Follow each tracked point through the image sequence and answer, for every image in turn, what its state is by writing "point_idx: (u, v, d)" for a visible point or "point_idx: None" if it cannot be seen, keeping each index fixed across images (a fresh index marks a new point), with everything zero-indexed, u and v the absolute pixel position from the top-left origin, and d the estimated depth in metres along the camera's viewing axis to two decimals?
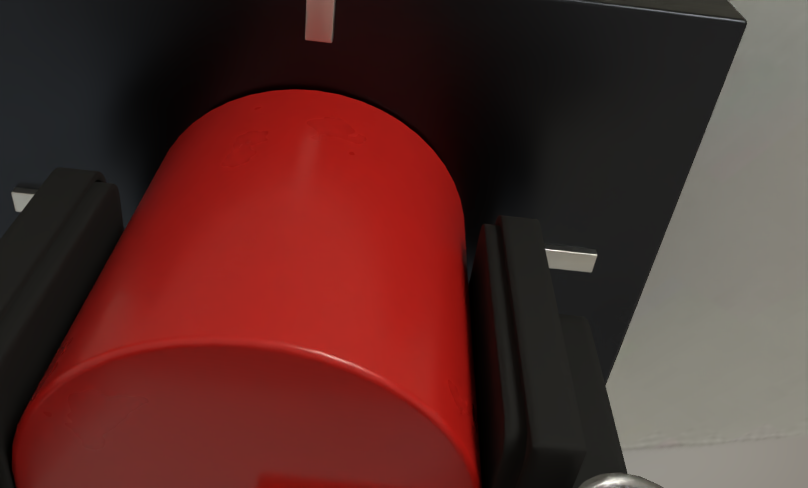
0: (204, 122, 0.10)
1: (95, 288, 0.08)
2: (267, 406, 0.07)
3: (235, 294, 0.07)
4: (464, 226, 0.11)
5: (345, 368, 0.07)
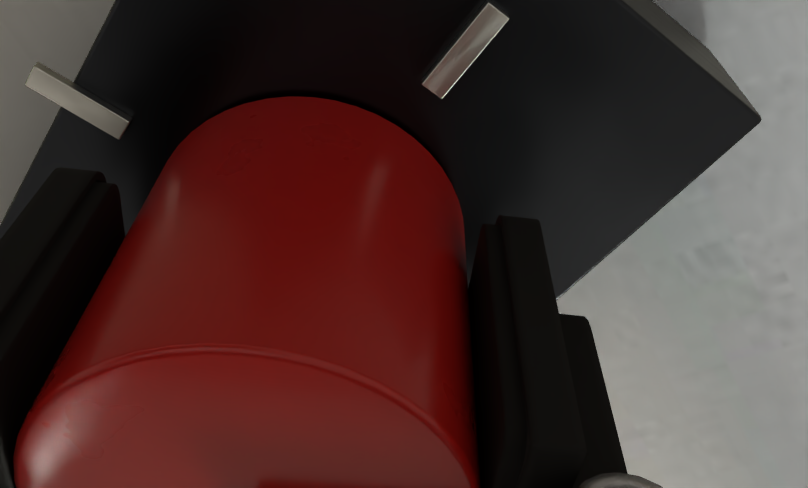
0: (201, 131, 0.10)
1: (93, 299, 0.08)
2: (262, 413, 0.07)
3: (226, 302, 0.07)
4: (463, 228, 0.11)
5: (337, 374, 0.07)
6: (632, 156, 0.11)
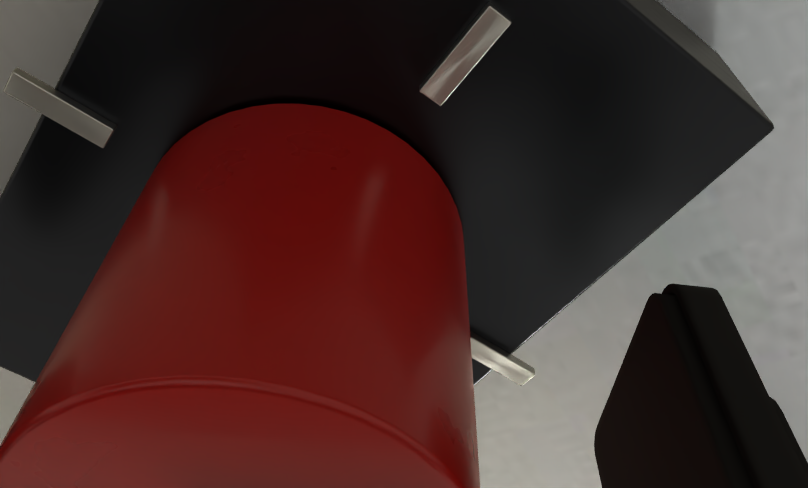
0: (184, 143, 0.10)
1: (68, 325, 0.08)
2: (242, 447, 0.06)
3: (202, 329, 0.06)
4: (462, 236, 0.11)
5: (321, 404, 0.06)
6: (639, 165, 0.11)
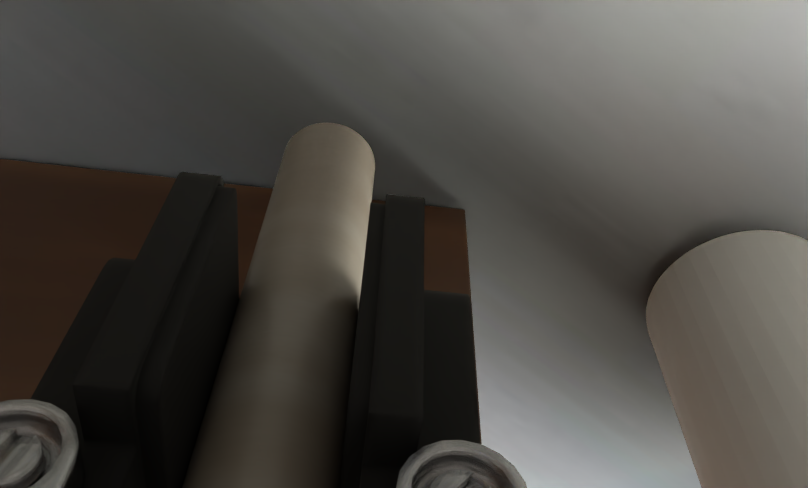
0: None
1: None
2: None
3: None
4: None
5: None
6: None
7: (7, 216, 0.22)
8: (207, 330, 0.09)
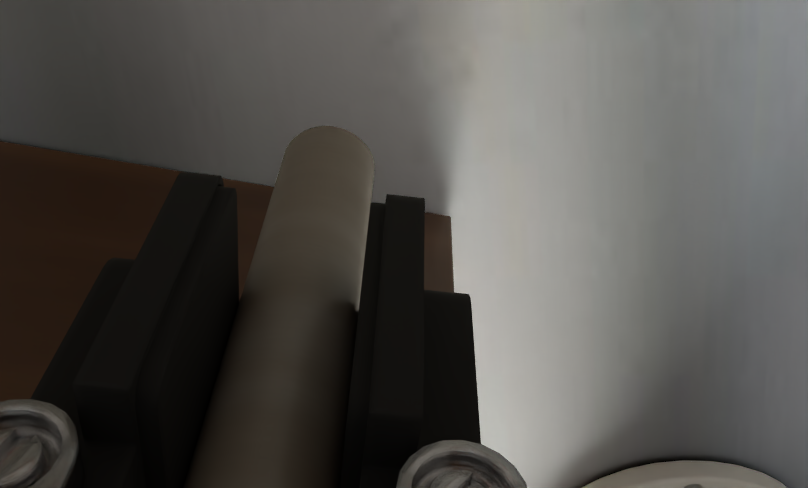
0: None
1: None
2: None
3: None
4: None
5: None
6: None
7: None
8: (207, 330, 0.09)
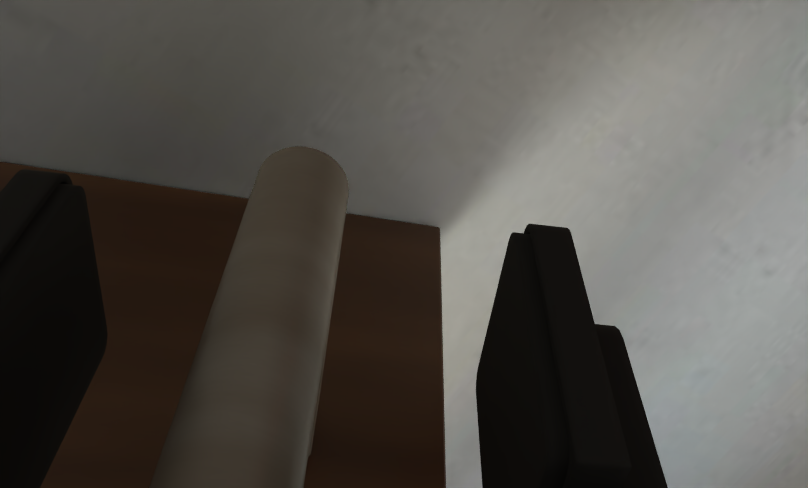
0: None
1: None
2: None
3: None
4: None
5: None
6: None
7: None
8: (36, 333, 0.09)
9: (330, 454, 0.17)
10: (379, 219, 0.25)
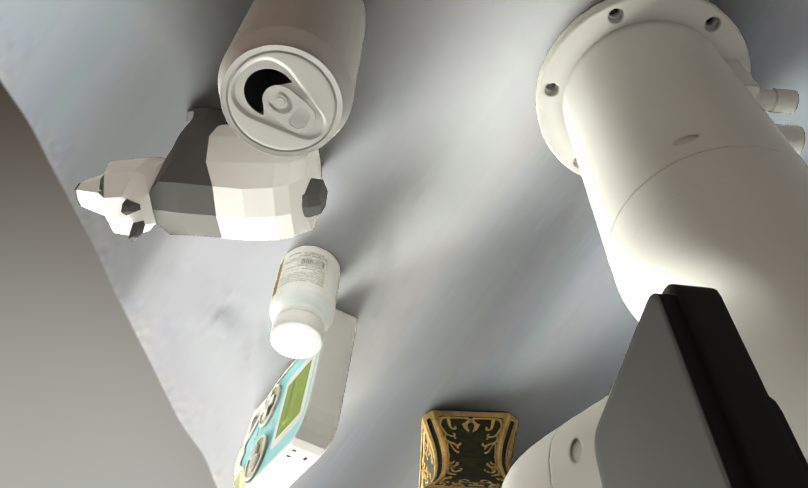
0: None
1: None
2: None
3: None
4: None
5: None
6: None
7: None
8: None
9: None
10: None
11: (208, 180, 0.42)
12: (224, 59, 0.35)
